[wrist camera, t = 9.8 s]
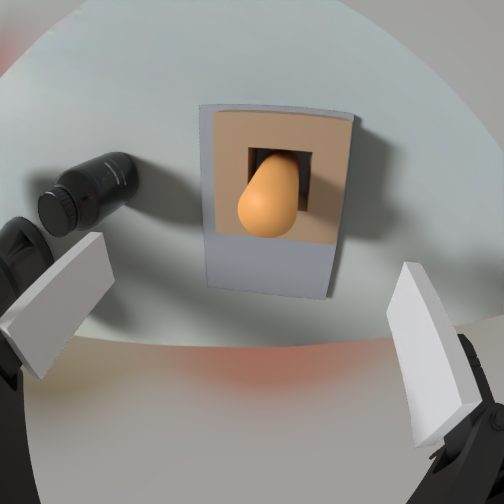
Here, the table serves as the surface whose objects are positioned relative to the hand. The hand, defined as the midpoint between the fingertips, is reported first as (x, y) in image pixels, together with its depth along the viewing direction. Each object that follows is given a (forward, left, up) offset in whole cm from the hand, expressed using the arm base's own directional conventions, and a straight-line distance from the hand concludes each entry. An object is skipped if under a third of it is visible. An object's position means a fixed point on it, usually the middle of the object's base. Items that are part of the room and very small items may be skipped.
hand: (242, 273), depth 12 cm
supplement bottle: (-20, -2, -20) cm, 28 cm away
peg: (0, 0, -19) cm, 19 cm away
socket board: (-1, -5, -20) cm, 20 cm away
